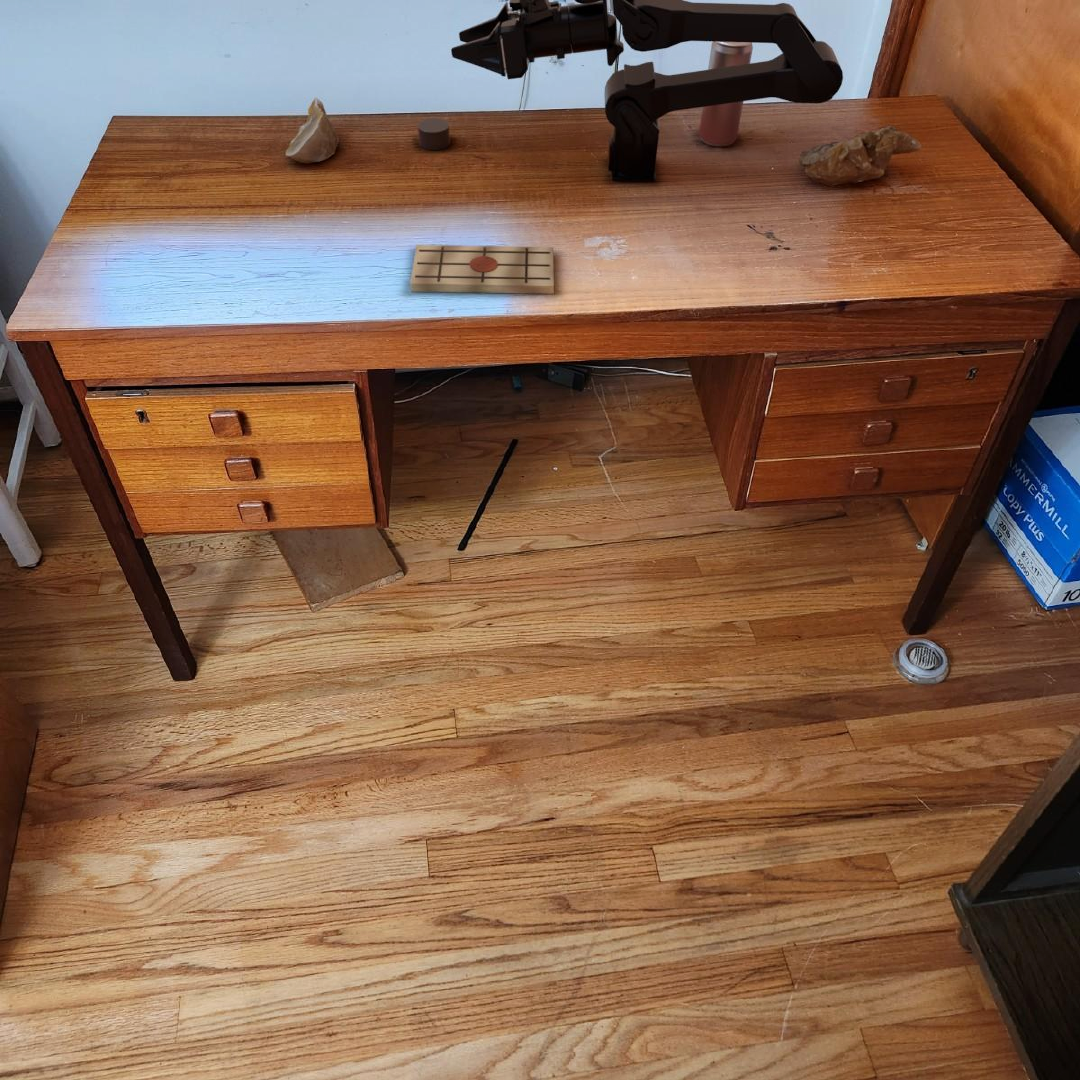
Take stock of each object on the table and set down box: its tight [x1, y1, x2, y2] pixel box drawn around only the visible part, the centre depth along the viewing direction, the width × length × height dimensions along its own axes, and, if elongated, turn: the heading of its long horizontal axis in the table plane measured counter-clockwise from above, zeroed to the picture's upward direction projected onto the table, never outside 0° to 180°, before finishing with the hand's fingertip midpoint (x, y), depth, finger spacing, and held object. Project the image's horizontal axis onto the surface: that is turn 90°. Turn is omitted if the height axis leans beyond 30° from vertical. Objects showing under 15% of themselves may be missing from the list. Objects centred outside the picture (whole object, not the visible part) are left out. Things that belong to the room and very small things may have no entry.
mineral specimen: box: [797, 125, 922, 187], centre depth 141 cm, size 13×7×15 cm
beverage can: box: [698, 41, 754, 148], centre depth 144 cm, size 6×6×15 cm
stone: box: [285, 97, 339, 164], centre depth 144 cm, size 7×6×15 cm
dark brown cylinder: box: [417, 117, 451, 151], centre depth 146 cm, size 5×5×3 cm
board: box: [409, 244, 555, 295], centre depth 123 cm, size 18×9×1 cm, turn 90°
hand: (455, 44), depth 130 cm, fingers open, 9 cm apart
